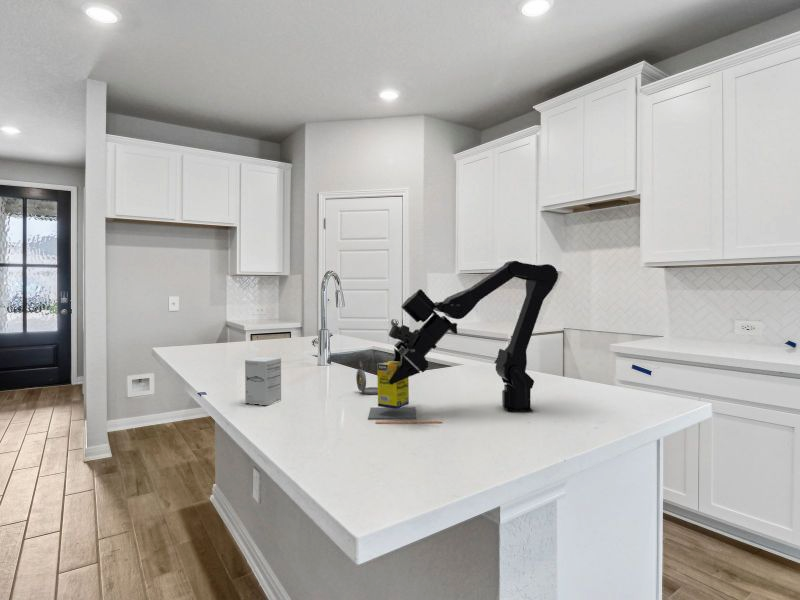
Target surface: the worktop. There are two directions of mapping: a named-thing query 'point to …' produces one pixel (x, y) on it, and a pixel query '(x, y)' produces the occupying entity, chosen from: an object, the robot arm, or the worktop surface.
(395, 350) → the robot arm
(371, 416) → the mat
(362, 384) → the pocket watch
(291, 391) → the worktop surface
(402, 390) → the supplement box
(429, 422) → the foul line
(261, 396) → the supplement box
